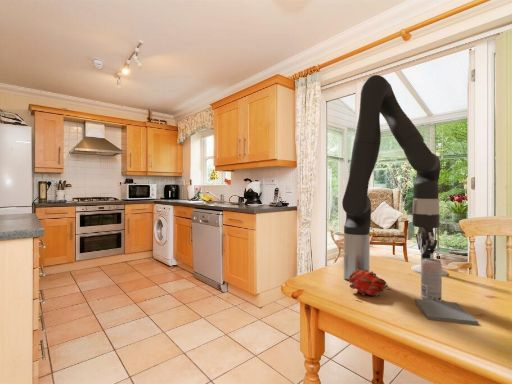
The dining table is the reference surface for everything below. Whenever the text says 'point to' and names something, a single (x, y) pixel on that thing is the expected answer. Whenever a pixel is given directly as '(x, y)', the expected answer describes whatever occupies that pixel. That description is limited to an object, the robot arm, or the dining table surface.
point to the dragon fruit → (366, 282)
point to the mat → (445, 311)
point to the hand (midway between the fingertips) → (425, 265)
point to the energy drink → (431, 279)
